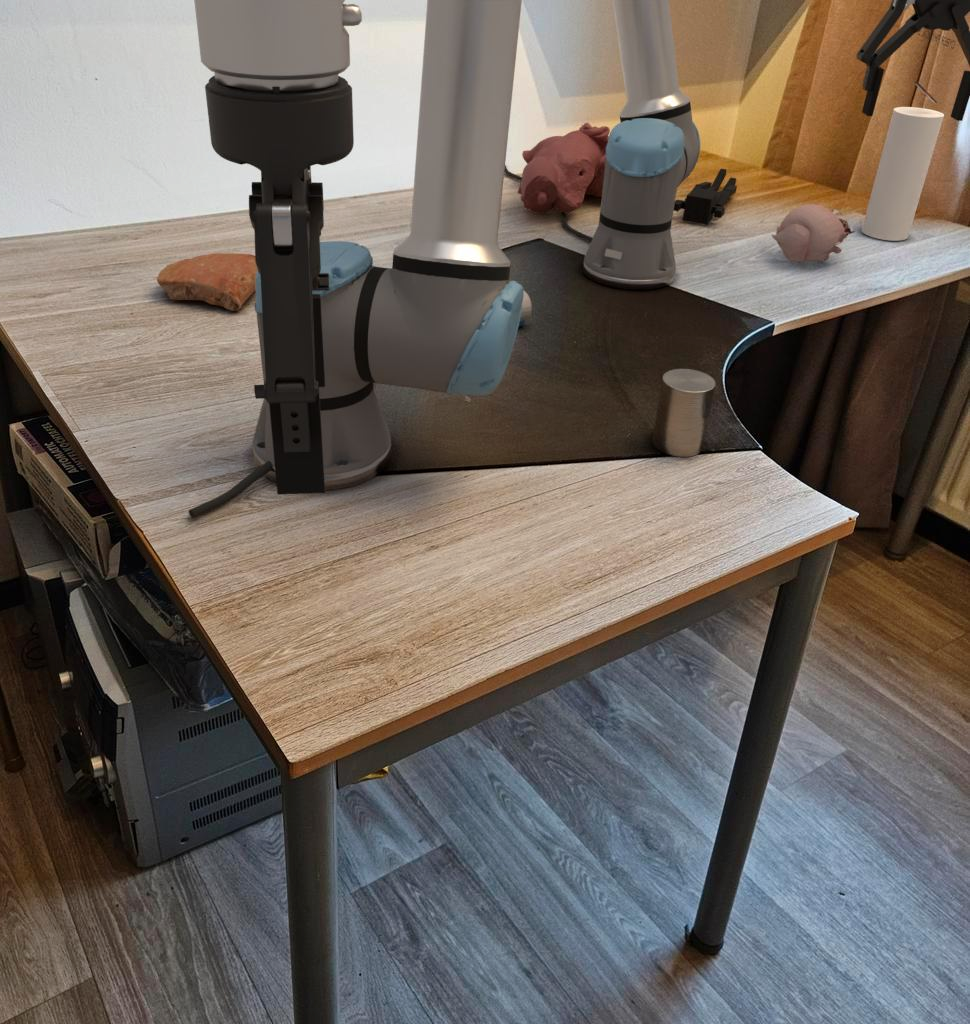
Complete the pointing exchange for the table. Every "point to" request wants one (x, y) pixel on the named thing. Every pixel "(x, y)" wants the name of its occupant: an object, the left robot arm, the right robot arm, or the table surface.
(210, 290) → the ceramic shard
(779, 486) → the table surface
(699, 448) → the tin
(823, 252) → the toy
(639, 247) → the right robot arm
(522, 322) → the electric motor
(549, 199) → the pink toy pig
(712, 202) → the toy
